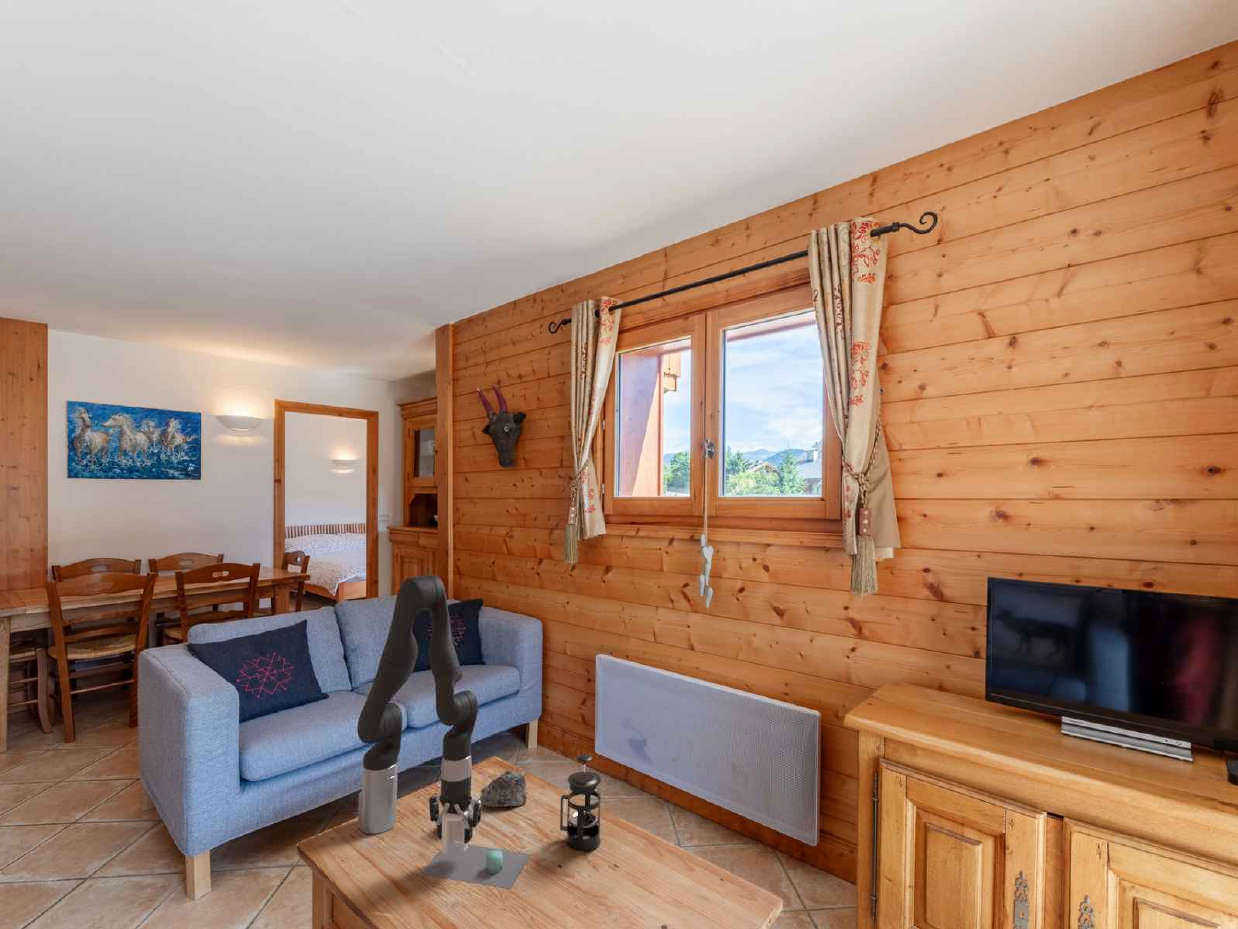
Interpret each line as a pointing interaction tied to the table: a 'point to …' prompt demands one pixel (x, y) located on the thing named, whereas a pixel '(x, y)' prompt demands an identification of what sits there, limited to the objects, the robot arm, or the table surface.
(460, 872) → the mat
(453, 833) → the cover cup
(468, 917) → the table surface
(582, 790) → the french press
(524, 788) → the mineral rock
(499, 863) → the teal egg-shaped capsule
